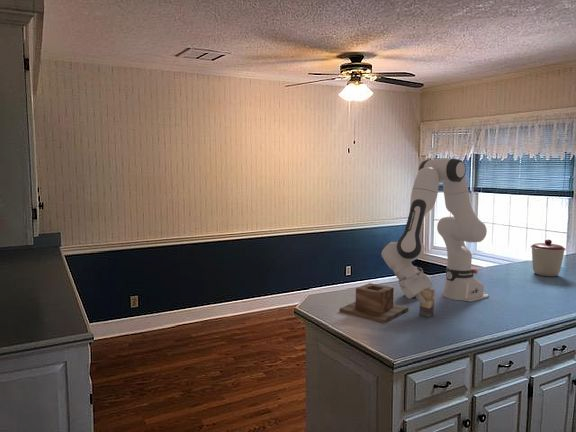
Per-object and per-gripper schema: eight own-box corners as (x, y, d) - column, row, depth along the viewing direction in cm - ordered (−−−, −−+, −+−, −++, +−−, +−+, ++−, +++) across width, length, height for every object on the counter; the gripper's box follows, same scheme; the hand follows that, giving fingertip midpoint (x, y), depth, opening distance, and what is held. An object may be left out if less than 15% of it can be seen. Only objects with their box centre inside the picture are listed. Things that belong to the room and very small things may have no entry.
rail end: (423, 312, 203) (424, 288, 202) (433, 314, 200) (434, 290, 199) (419, 315, 199) (420, 290, 198) (429, 317, 197) (430, 292, 195)
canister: (564, 273, 277) (566, 238, 274) (563, 280, 262) (566, 243, 259) (530, 269, 287) (532, 236, 284) (527, 275, 271) (529, 240, 269)
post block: (365, 300, 220) (365, 279, 219) (408, 310, 206) (409, 287, 205) (339, 311, 203) (339, 288, 202) (384, 323, 189) (385, 298, 188)
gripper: (402, 275, 194) (423, 302, 189) (422, 267, 210) (442, 292, 204) (392, 284, 197) (412, 311, 192) (413, 275, 213) (432, 300, 208)
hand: (428, 301), depth 199 cm, fingers closed on rail end, 4 cm apart
